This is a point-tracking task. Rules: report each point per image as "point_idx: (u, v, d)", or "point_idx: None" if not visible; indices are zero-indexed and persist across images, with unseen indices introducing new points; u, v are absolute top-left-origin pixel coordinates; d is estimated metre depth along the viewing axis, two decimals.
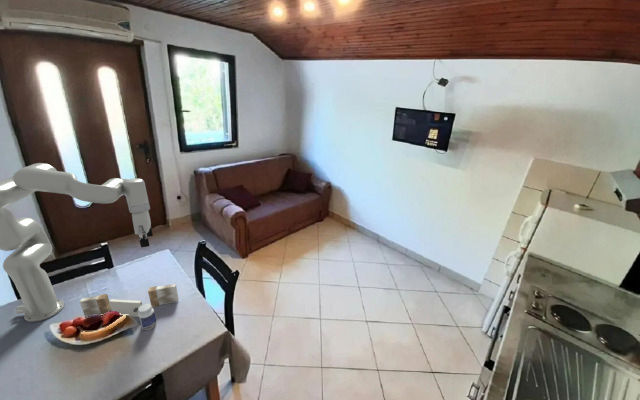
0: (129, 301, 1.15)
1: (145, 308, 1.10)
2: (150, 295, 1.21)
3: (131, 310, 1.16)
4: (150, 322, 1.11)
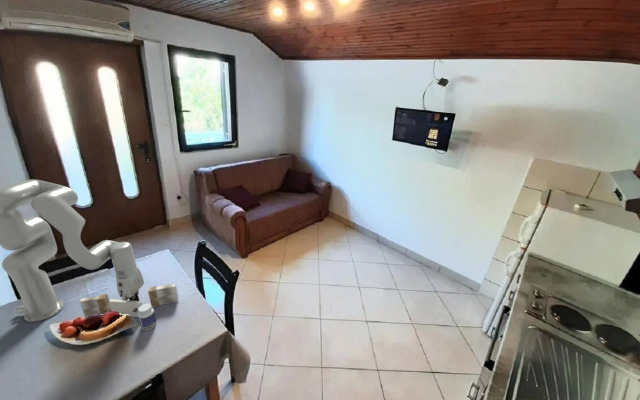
0: (129, 301, 1.15)
1: (145, 308, 1.10)
2: (150, 295, 1.21)
3: (131, 310, 1.16)
4: (150, 322, 1.11)
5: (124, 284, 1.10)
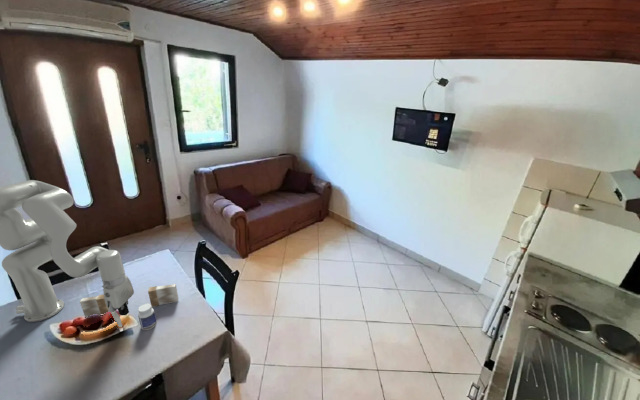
0: None
1: (145, 308, 1.10)
2: (150, 295, 1.21)
3: (115, 321, 1.11)
4: (150, 322, 1.11)
5: (111, 295, 1.04)
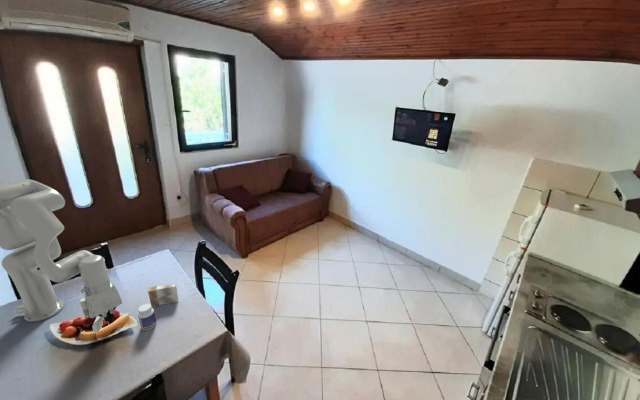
0: (98, 317, 1.07)
1: (145, 308, 1.10)
2: (150, 295, 1.21)
3: None
4: (150, 322, 1.11)
5: (87, 301, 1.00)
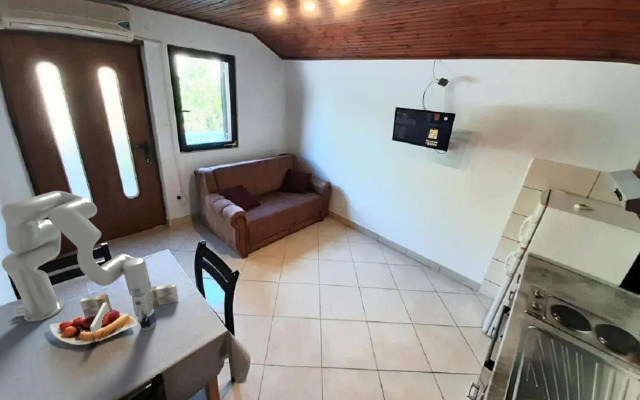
0: (96, 317, 1.06)
1: None
2: None
3: None
4: (150, 322, 1.11)
5: (143, 301, 1.04)
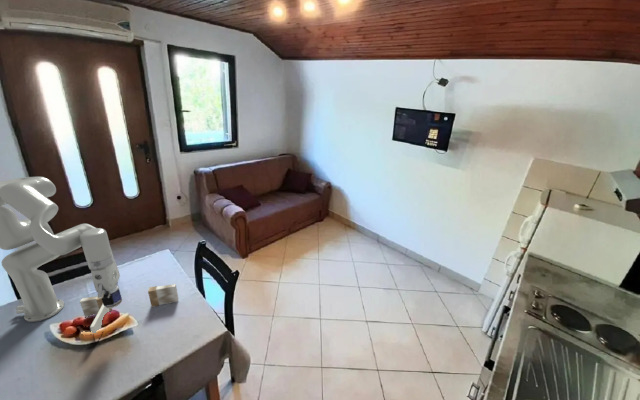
0: (96, 317, 1.06)
1: None
2: (150, 295, 1.21)
3: None
4: (114, 299, 1.03)
5: (103, 276, 0.96)
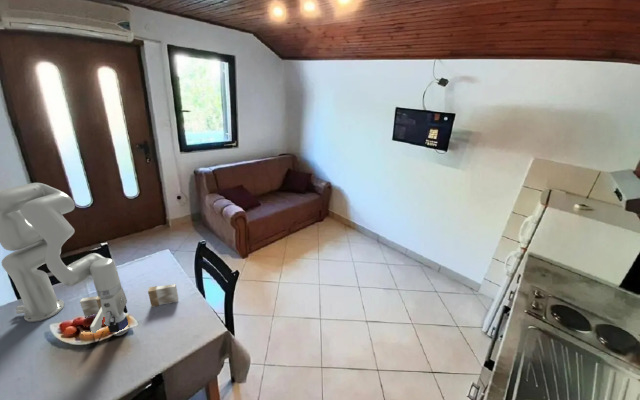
0: (96, 317, 1.06)
1: None
2: (150, 295, 1.21)
3: None
4: (122, 327, 1.08)
5: (112, 303, 1.00)
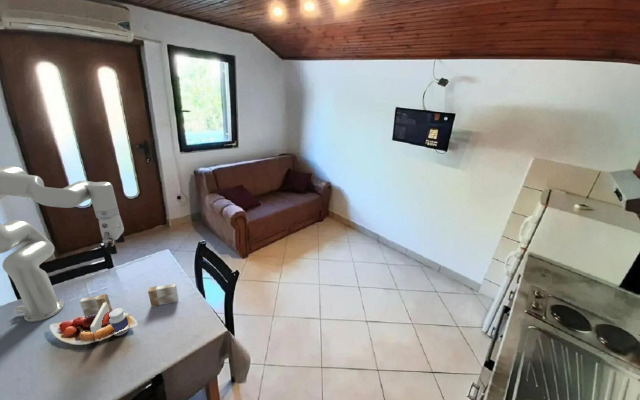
0: (96, 317, 1.06)
1: (117, 313, 1.07)
2: (150, 295, 1.21)
3: None
4: (122, 327, 1.08)
5: (109, 224, 1.06)
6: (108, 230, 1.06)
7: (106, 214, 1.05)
